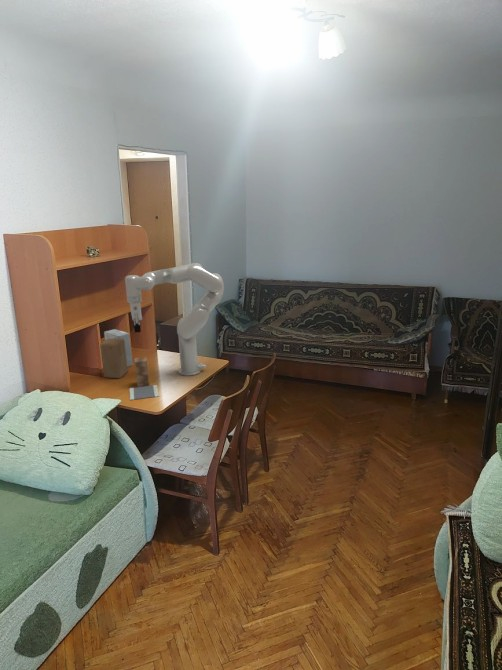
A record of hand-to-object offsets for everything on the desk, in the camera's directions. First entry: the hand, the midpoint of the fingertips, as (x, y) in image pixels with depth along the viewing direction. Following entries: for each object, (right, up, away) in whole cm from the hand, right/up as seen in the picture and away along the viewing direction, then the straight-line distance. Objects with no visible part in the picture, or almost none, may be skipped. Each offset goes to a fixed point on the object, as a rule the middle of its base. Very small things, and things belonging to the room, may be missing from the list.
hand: (137, 331), depth 248 cm
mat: (+7, -31, -15) cm, 35 cm away
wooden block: (-14, -24, +8) cm, 29 cm away
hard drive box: (-16, -20, +23) cm, 34 cm away
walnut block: (+4, -28, -5) cm, 29 cm away
